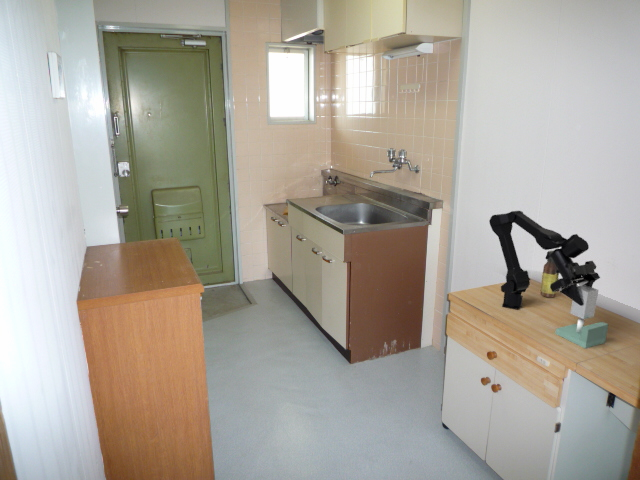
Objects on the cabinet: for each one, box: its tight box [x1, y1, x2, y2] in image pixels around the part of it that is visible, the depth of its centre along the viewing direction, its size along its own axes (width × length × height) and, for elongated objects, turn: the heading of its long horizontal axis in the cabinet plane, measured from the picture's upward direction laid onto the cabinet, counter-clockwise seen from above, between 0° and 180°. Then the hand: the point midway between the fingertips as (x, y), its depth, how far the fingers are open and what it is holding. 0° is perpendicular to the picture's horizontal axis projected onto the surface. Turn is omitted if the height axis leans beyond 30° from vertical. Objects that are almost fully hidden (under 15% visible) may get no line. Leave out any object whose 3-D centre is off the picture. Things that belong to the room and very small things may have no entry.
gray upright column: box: [569, 285, 599, 320], centre depth 163 cm, size 5×5×10 cm
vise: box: [554, 317, 609, 349], centre depth 165 cm, size 12×10×7 cm
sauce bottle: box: [540, 250, 560, 299], centre depth 202 cm, size 6×6×20 cm
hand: (587, 303), depth 162 cm, fingers closed on gray upright column, 5 cm apart
